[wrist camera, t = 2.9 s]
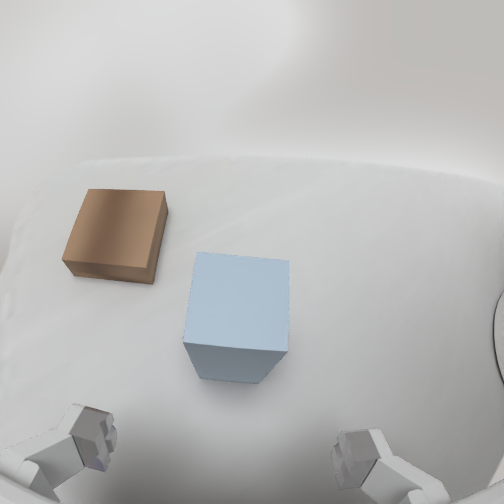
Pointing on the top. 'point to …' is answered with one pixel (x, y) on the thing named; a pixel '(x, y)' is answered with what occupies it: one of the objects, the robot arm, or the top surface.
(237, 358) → the pillar
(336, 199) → the top surface
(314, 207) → the top surface
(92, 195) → the base block
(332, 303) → the top surface
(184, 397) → the top surface
